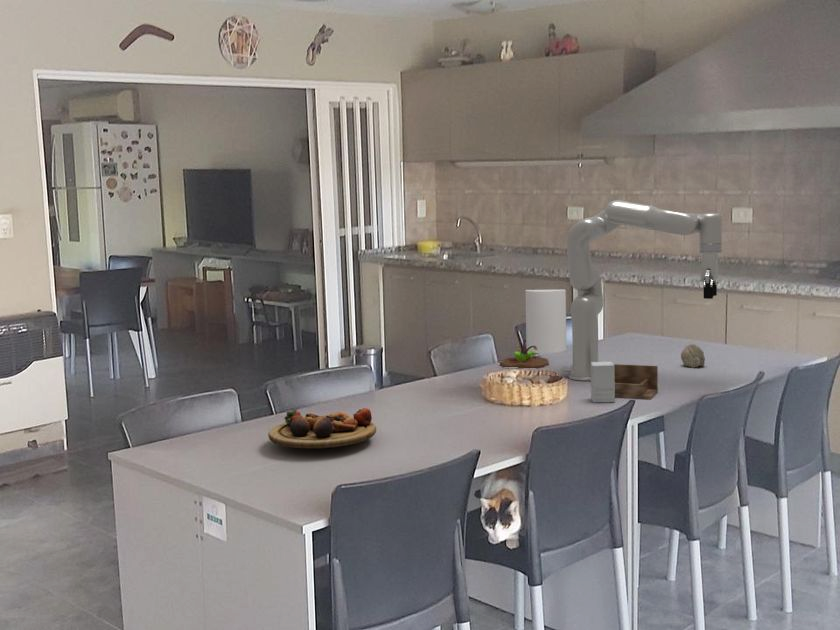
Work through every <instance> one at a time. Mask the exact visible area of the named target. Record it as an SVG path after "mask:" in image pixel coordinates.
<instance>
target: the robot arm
mask: <svg viewBox="0 0 840 630" xmlns="http://www.w3.org/2000/svg"><path fill="white" fill-rule="evenodd" d="M621 226H629V227H635V228H639V229H643V230H649V231H659V232H664V233H668V234H675V235H678V236H679V235H681V236H689V235H693V234H699V235H698V236H699V242H698V243H699V245H698V246H699V247H698V248H699V249H698V252H699V253H698V254H701V259H700V260H701V262H700V281H701V282H703V281H704V282H703V299H704V300H706V299H707V300H708V299H709V300H710V299H712V300H713V299H714V297H716V296H717V294H718V293H717V292H718V291H717V290H718V289H717V287H718V286H717V285H718V284H717V280H718V277H719V254H721V253H722V250H723V248H722V247H723V245H722V241H723V239H722V236H723V235H722V234H723V233H722V231H723V230H722V229H723V217H722V215H721V214H720V213H715V212H713V213H712V212H711V213H709V212H708V213H694V212H686V213H683V212H675V211H672V210H666V209H661V208H659V207H657V206H654V205H650V204H643V203H638V202H632V201H627V200H623V199H614V200H611V201H610V202H608V203H607V205H606V206H605V208H604V209H603V210H602V211H600V212H598V213H596V214H595V215H593V216H592V217H591V216H590V217H586V218H582V219H581V220H579V221H577V222H576V223H575V224H573V225H572V227H570V230H569V232H568V234H567V237H566V250H567V251H566V252H567V260H568V261H567V262H568V271H569V272H568V273H569V281H570V284H571V286H572V288H574V290H577V296H576V297H575V298H574V299H573V301H572V303H571V304H570V305H571V306H570V317H571V330H572V331H571V332H572V333H571V334H572V336H571V337H572V341H571V343H572V365H570V366H564V365H563V366H562V367H561V371H562V372H563V373H569V374H568V379H569V380H574V381H582V382H583V381H584V382H585V381H590V382H591V362H599V327H598V326H599V324H598V317H597V316H598V315H599V314H600V313H601V312H602V310H603V308H604V295H603V286H602V278H601V277H602V276H601V275H600V271H599V269H598V268H597V267H596V266H595V265H594V264H592V263H593V262H592V254H591V252H592V251H591V248H590V243H591V241H595V240H600V239H602V238H604V237H605V236H607V235H609V234H610V233H612V232H613V231H614V230H616V229H617V228H619V227H621Z"/></svg>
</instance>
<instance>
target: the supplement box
mask: <svg viewBox="0 0 840 630" xmlns="http://www.w3.org/2000/svg"><path fill="white" fill-rule="evenodd" d="M614 364H615V363H613V361H598V362H591V381H590V382H591V384H590V393H591V394H590V395H591V396H590V398H591V400H592V402H593V403H615V402H616V398H615V366H614Z"/></svg>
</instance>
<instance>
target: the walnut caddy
mask: <svg viewBox="0 0 840 630" xmlns="http://www.w3.org/2000/svg"><path fill="white" fill-rule="evenodd" d="M613 364H614V366H615V399H617V398H618V399H637V400H652V399H653V398H654V397H655V396H656V395H657V393H658V392H659V387H658V386H659V385H658V380H659V379H658V376H659V375H658V374H659V372H658V367H659V366H658V365H645V364H644V365H640V364H620V363H619V364H618V363H613Z"/></svg>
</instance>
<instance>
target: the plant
mask: <svg viewBox="0 0 840 630" xmlns="http://www.w3.org/2000/svg"><path fill="white" fill-rule="evenodd" d="M526 342H527V340H526V338H523V339H522V345H520V346H518V347H517V350H516V351H514V353H512V354H513V357H506V358H504V359H503V360H502V361H500V362H499V366H500V367H518V368H517V369H523V368H536V369H542V368H543V369H544V368H546V367H547V366H550V361H549V359H548V358H545V357H542V356H540V355H537V354H538V353H533V351H528V350H529V349H530V348H532V347H534V349H535V350H537V349H538V348H537V347H536V346H530V347H529V348H527V349H526ZM536 355H537V356H536Z"/></svg>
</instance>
